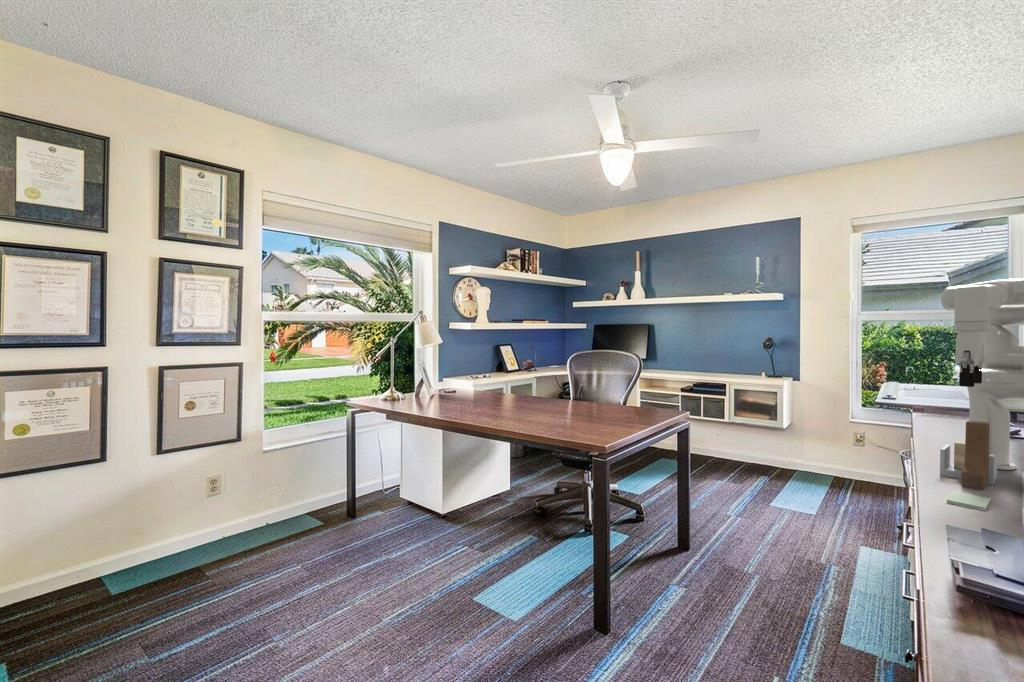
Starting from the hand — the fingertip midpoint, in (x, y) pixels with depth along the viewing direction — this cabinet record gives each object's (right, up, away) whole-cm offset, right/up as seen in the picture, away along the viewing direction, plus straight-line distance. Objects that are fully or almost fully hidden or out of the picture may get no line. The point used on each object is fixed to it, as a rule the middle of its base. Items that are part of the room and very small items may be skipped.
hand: (970, 384), depth 144 cm
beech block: (+1, -26, +2) cm, 26 cm away
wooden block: (-5, -28, -6) cm, 30 cm away
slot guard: (+1, -28, +2) cm, 28 cm away
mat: (-19, -29, -20) cm, 40 cm away
